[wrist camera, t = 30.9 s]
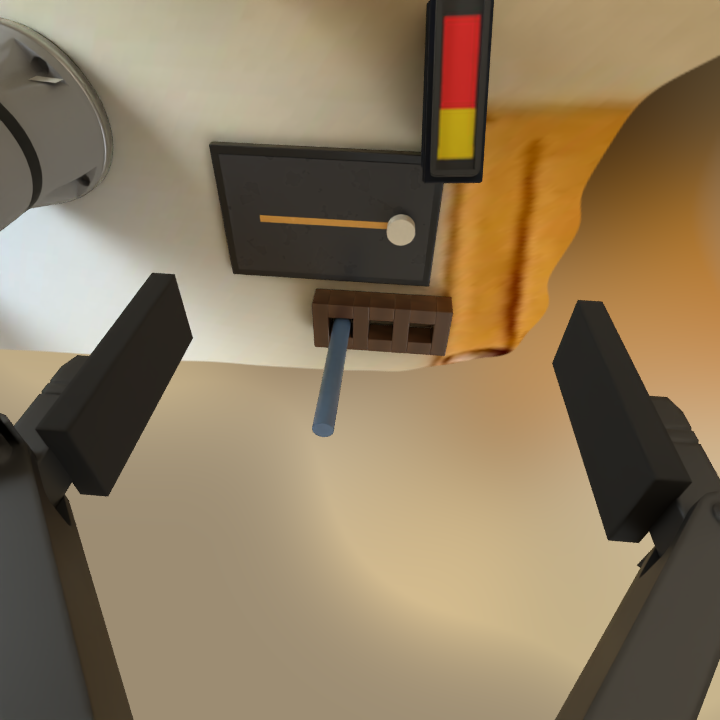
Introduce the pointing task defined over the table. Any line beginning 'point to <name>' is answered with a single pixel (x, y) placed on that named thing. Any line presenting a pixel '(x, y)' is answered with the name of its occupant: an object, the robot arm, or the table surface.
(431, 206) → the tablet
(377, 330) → the pen stand
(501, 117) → the table surface
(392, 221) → the slider knob
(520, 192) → the table surface
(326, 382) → the stylus
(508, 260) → the table surface
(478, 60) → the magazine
